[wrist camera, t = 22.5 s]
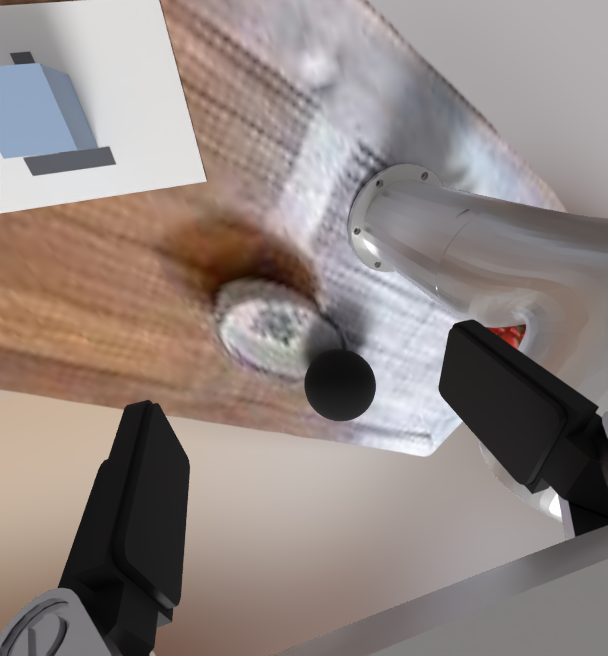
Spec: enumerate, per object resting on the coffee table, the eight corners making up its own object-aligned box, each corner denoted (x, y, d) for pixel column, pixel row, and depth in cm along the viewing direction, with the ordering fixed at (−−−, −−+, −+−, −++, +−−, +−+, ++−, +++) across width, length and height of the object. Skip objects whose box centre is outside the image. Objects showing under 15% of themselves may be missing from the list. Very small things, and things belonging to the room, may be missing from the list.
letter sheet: (158, -4, 23) (157, -5, 23) (206, 181, 31) (206, 181, 30) (-184, 18, 20) (-189, 17, 20) (-41, 219, 27) (-43, 219, 27)
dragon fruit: (501, 293, 51) (459, 345, 58) (491, 305, 45) (445, 362, 52) (554, 322, 48) (502, 374, 54) (551, 339, 42) (494, 395, 48)
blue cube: (68, 75, 24) (39, 63, 20) (98, 147, 27) (77, 149, 23) (-2, 81, 24) (-47, 69, 19) (36, 155, 26) (3, 158, 22)
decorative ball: (286, 356, 45) (303, 405, 37) (347, 324, 44) (377, 367, 36) (312, 396, 50) (331, 447, 42) (366, 368, 50) (396, 414, 42)
